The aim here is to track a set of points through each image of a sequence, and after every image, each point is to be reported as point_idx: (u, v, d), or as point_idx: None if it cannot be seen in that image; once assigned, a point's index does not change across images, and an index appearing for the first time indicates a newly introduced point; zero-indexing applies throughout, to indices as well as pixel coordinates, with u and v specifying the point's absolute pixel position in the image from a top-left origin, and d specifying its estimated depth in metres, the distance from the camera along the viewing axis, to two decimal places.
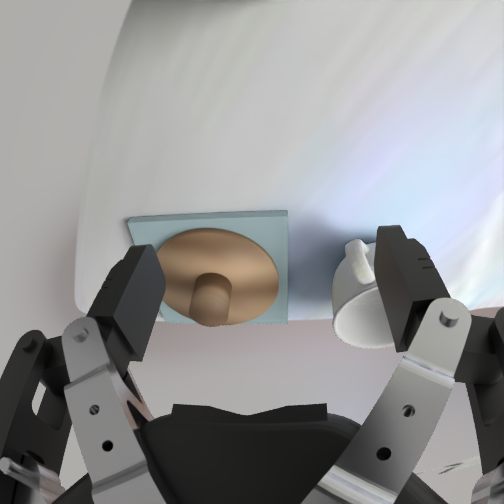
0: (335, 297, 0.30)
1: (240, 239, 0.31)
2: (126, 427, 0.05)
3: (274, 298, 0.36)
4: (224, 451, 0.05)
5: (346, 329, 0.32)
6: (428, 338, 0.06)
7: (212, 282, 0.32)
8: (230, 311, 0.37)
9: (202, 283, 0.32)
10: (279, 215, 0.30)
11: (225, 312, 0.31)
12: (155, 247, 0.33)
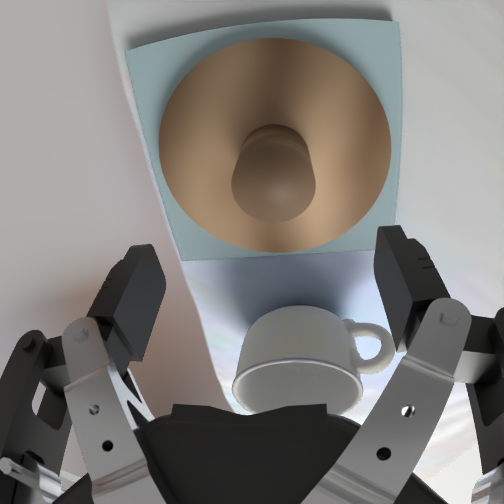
0: (310, 338, 0.23)
1: None
2: (126, 427, 0.05)
3: (253, 248, 0.22)
4: (224, 451, 0.05)
5: None
6: (428, 338, 0.06)
7: None
8: (207, 184, 0.20)
9: (308, 153, 0.16)
10: None
11: (284, 218, 0.16)
12: (347, 56, 0.15)
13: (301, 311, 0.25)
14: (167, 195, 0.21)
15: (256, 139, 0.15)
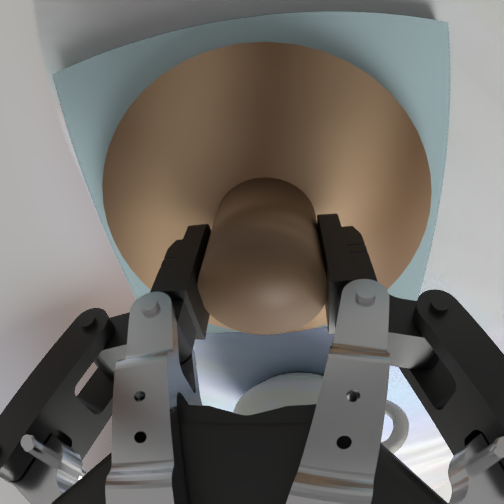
0: None
1: None
2: (166, 425, 0.05)
3: None
4: (224, 451, 0.05)
5: None
6: (337, 315, 0.07)
7: None
8: None
9: (316, 225, 0.11)
10: None
11: (280, 331, 0.11)
12: (375, 70, 0.10)
13: (300, 387, 0.20)
14: None
15: (235, 213, 0.10)
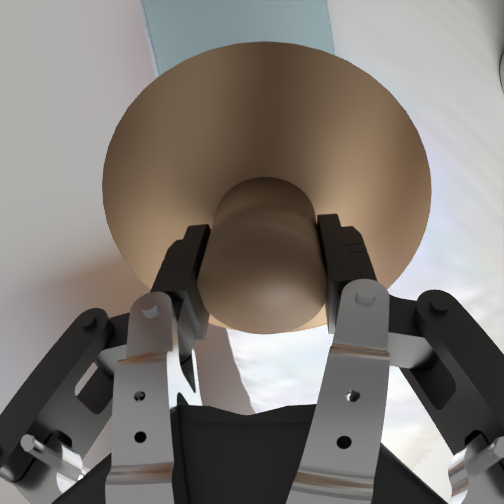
0: None
1: None
2: (166, 425, 0.05)
3: None
4: (224, 451, 0.05)
5: None
6: (337, 315, 0.07)
7: None
8: None
9: (316, 225, 0.11)
10: None
11: (280, 330, 0.11)
12: None
13: None
14: (156, 40, 0.24)
15: (235, 212, 0.10)
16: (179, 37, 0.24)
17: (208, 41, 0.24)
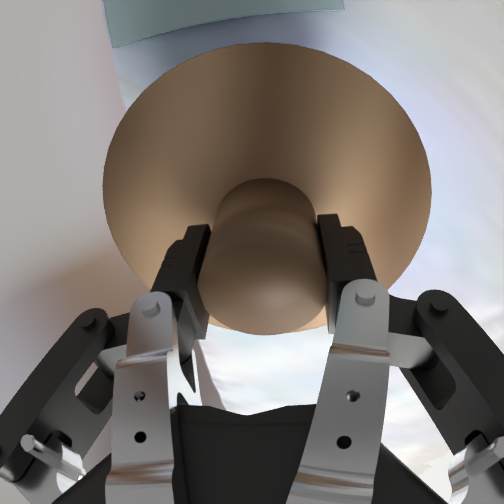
0: None
1: None
2: (166, 425, 0.05)
3: None
4: (224, 451, 0.05)
5: None
6: (337, 315, 0.07)
7: None
8: None
9: (316, 226, 0.11)
10: None
11: (280, 331, 0.11)
12: None
13: None
14: None
15: (235, 214, 0.10)
16: None
17: None
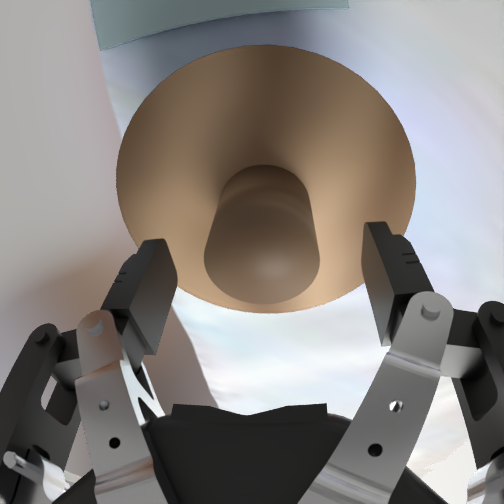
0: None
1: None
2: (135, 425, 0.05)
3: (238, 308, 0.18)
4: (224, 451, 0.05)
5: None
6: (408, 330, 0.06)
7: None
8: (179, 237, 0.16)
9: (310, 207, 0.12)
10: None
11: (276, 300, 0.12)
12: None
13: None
14: None
15: (238, 193, 0.11)
16: None
17: None
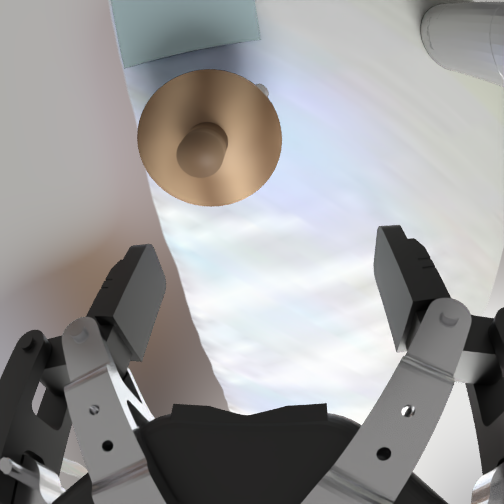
0: None
1: (275, 166, 0.31)
2: (126, 427, 0.05)
3: (199, 204, 0.33)
4: (224, 451, 0.05)
5: None
6: (428, 338, 0.06)
7: (226, 147, 0.28)
8: (167, 162, 0.30)
9: (223, 137, 0.27)
10: (259, 32, 0.29)
11: (208, 174, 0.27)
12: None
13: None
14: (119, 25, 0.28)
15: (191, 131, 0.26)
16: (136, 22, 0.28)
17: (158, 24, 0.28)
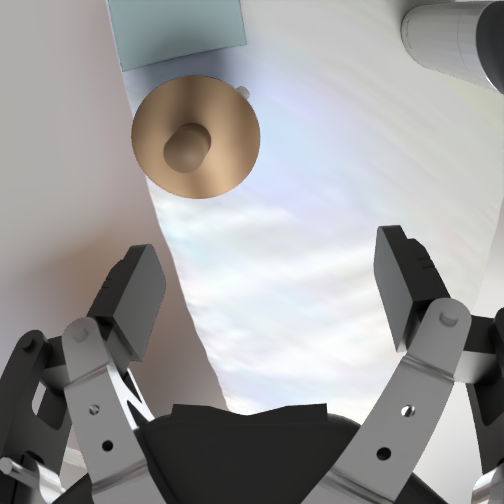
0: None
1: None
2: (126, 427, 0.05)
3: (187, 196, 0.36)
4: (224, 451, 0.05)
5: None
6: (428, 338, 0.06)
7: (208, 145, 0.31)
8: (158, 158, 0.33)
9: (206, 136, 0.30)
10: (245, 38, 0.32)
11: (191, 170, 0.30)
12: None
13: None
14: (117, 32, 0.31)
15: (176, 131, 0.29)
16: (133, 29, 0.31)
17: (152, 31, 0.31)
